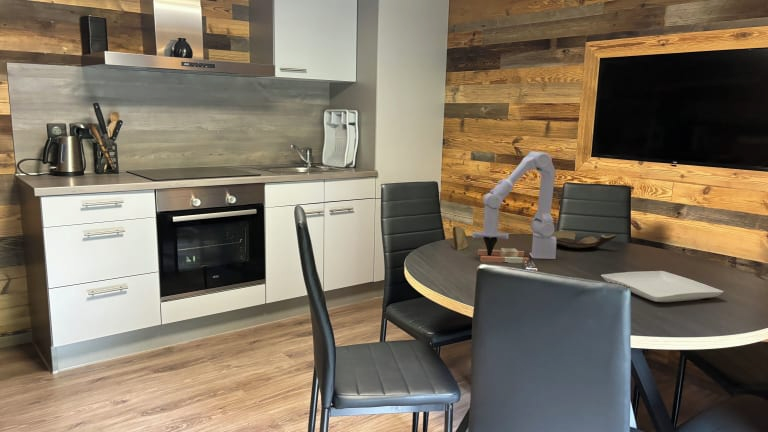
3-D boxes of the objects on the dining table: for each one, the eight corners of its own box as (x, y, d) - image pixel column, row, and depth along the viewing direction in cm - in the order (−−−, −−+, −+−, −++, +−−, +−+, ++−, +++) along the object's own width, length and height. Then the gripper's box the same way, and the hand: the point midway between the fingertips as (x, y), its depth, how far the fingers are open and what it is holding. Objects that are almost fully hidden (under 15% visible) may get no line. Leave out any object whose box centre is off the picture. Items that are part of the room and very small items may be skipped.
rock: (464, 238, 258) (445, 237, 254) (473, 226, 252) (454, 224, 248) (472, 257, 251) (453, 255, 246) (481, 244, 245) (461, 243, 241)
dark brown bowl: (561, 239, 273) (562, 223, 272) (620, 250, 251) (621, 233, 249) (533, 244, 259) (534, 228, 258) (593, 257, 236) (595, 239, 235)
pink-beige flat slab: (523, 255, 237) (523, 251, 236) (528, 263, 224) (529, 258, 224) (477, 254, 238) (478, 249, 238) (480, 261, 225) (480, 256, 225)
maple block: (515, 258, 234) (515, 248, 233) (517, 261, 228) (517, 251, 227) (500, 257, 234) (501, 248, 233) (502, 260, 228) (502, 251, 227)
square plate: (724, 301, 181) (726, 290, 181) (654, 308, 174) (656, 296, 173) (661, 279, 207) (662, 268, 206) (598, 283, 199) (599, 273, 198)
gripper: (473, 223, 226) (472, 256, 228) (510, 224, 224) (508, 258, 227) (472, 220, 233) (471, 252, 235) (507, 221, 231) (506, 253, 234)
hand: (489, 255), depth 231 cm, fingers closed
